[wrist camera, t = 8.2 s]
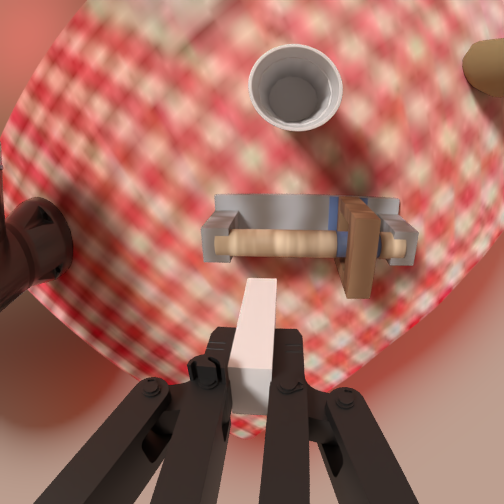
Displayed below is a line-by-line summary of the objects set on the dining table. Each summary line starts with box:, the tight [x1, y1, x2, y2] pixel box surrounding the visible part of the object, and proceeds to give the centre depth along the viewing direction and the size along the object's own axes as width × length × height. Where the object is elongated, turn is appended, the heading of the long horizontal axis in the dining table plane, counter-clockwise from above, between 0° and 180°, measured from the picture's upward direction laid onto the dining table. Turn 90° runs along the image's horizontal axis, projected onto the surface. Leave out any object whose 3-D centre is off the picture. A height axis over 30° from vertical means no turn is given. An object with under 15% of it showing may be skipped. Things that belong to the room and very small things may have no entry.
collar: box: [334, 196, 381, 299], centre depth 33 cm, size 2×8×10 cm, turn 1°
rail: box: [201, 194, 419, 266], centre depth 36 cm, size 24×8×8 cm, turn 91°
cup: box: [248, 44, 343, 131], centre depth 28 cm, size 8×8×12 cm
